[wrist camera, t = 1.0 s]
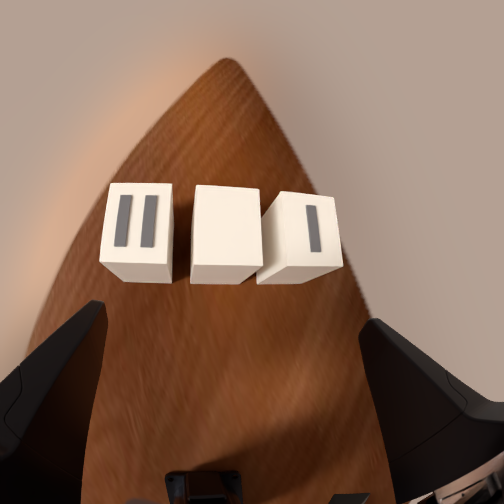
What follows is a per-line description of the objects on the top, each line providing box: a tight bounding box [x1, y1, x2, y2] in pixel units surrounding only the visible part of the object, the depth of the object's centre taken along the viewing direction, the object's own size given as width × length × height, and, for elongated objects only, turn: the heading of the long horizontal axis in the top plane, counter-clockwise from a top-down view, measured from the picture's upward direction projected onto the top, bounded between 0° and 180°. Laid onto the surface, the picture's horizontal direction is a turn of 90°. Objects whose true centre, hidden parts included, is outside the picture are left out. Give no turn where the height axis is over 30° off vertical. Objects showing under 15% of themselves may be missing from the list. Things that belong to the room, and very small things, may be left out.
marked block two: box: [100, 183, 174, 283], centre depth 18 cm, size 5×4×7 cm
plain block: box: [190, 185, 263, 284], centre depth 19 cm, size 5×4×7 cm
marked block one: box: [256, 191, 343, 284], centre depth 21 cm, size 5×4×7 cm
